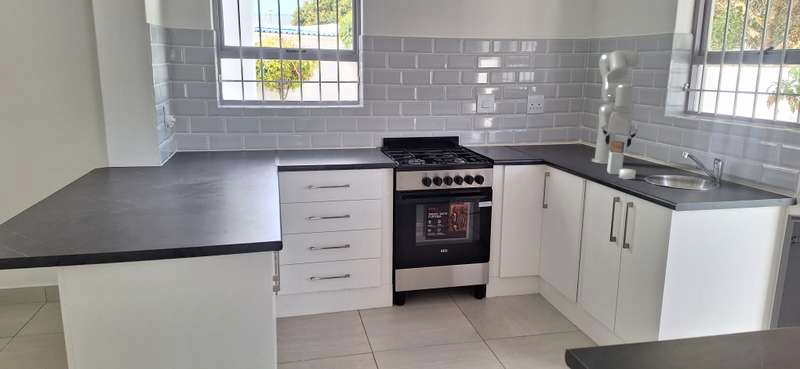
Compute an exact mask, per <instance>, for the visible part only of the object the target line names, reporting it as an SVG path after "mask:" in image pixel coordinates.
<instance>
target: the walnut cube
mask: <svg viewBox="0 0 800 369" xmlns="http://www.w3.org/2000/svg"><path fill="white" fill-rule="evenodd" d="M625 143H626V142H624V141H619V140H616V141H613V142H611V150H610V152H614V153H623V154H624V150H625Z"/></svg>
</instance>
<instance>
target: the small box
mask: <svg viewBox="0 0 800 369" xmlns="http://www.w3.org/2000/svg"><path fill="white" fill-rule="evenodd" d="M624 155H625V153H624V152H623V153H614V152H610V151H609V159H608V164H607V166H606V167H607V168H606V171H607V173H608V174H609V175H618V176H619V172H620V169H623V165H624V163H623V162H624V158H625V156H624Z"/></svg>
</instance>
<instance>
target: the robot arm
mask: <svg viewBox="0 0 800 369" xmlns="http://www.w3.org/2000/svg"><path fill="white" fill-rule="evenodd" d="M598 62H599V63H598V64H599V65H598V66H599V68H598V69H599V72H600V75H601V79H602V85H601V86H602V87H601V95H602V96H601V97H602V98H601V99H602V101H603V102H604V104H602V105H601V106H599V109H598V129H597V138H596V147H595V154H594V158H591V162H593V163H595V164H602V165H608V159H609V151H610V150H611V142H613V141H617V135H625V136H626V137H627V139H626V140H627V142H626V147H627V148H630V146H631V144H632V140H633V138H634V137H636V136H637V134H638V133H639V132H640V130H639V129H637V128H636V127H635V126H633V119H634V115H635V114H634V112H635V109H634V108H635V104H634V102H635V88H634V86H633V84H631V83H621V82H620V81H621V80H623V79H625V78H626V77H627V76H628V74H629V70H632V69H633V70H634V69H635V68H637V67H638V65H639V64H640V63H639V62H640V54H639V53H638V52H637V51H635V50H625V49H624V50H622V49H617V50H614V51H612V52H605V53H602V54H601V56H599V61H598ZM605 103H606V104H605ZM632 130H633V131H634V132H633V133H632ZM631 133H632V134H631Z"/></svg>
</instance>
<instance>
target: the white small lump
mask: <svg viewBox="0 0 800 369" xmlns="http://www.w3.org/2000/svg"><path fill="white" fill-rule="evenodd" d="M636 174H637V173H636V170H635V169H633V168H632V169H631V168H622V169H620V172H619V175H618V178H619V179H621V178H622V180H625V179H634V180H635V179H636Z"/></svg>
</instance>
